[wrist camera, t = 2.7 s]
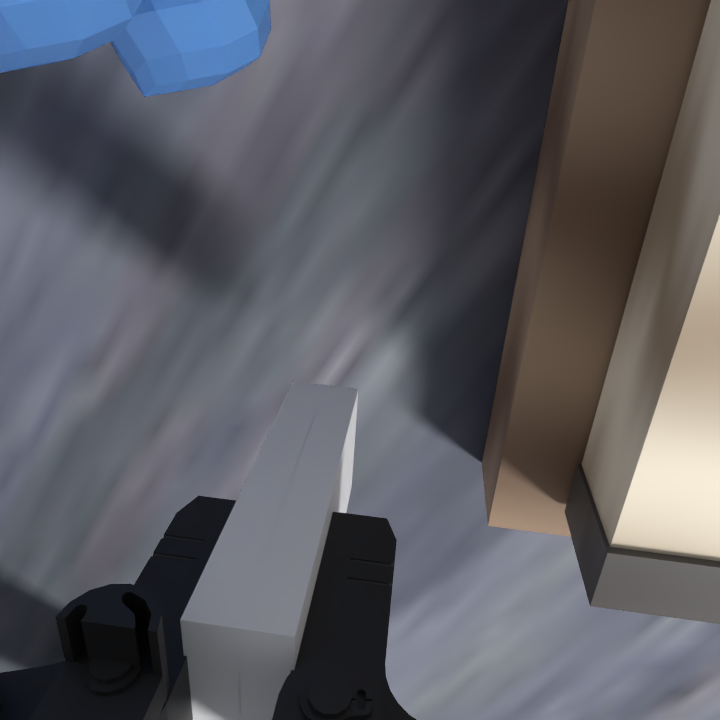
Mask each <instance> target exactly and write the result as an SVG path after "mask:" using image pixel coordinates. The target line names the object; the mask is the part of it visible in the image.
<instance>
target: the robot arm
mask: <svg viewBox="0 0 720 720" xmlns="http://www.w3.org/2000/svg"><path fill="white" fill-rule="evenodd" d="M357 401H358V389H354V388H345V387H336V386H328V385H319V384H310V383H301V382H292V384H291V386H290V388H289V390H288V392H287V394H286V397H285V399H284V401H283V403H282V405H281V407H280V409H279V411H278V414H277V416H276V418H275V420H274V422H273V424H272V426H271V428H270V431H269V433H268V435H267V437H266V439H265V441H264V443H263V445H262V447H261V450H260V452H259V454H258V456H257V458H256V460H255V462H254V464H253V467H252V469H251V471H250V473H249V475H248V477H247V479H246V481H245V484H244V486H243V488H242V490H241V492H240V494H239V496H238V498H237V501H234V500H226V499H219V498H211V497H203V496H198V497H196V498H195V499H194V500H193V501H191V502H190V503H189V504H187V505H186V506H185V507H184V508H182V509H181V510H180V511H179V512H177V513H176V515H175V517H174V518H173V520H172V522H171V524H170V525H169V527H168V529H167V530H166V532H165V534H164V538H163V539H161V540H160V542H159V544H158V545H157V547H156V549H155V551H154V554H153V557H150V559H149V561H148V562H147V564H146V566H145V567H144V569H143V571H142V572H141V574H140V576H139V578H138V579H137V581H136V583H135V584H134V585H132V584H110V585H106V586H103V587H99V588H96V589H92V590H89V591H88V592H86V593H84V594H83V595H81V596H79V597H78V598H76V599H74V600H72V601H71V602H70V603H69V604H68V605H67V606H66V607H65V608H64V609H63V610H62V611H61V612H60V613H59V614H58V615H57V616H56V621H57V625H58V630H59V634H60V639H61V643H62V647H63V652H64V656H65V660H64V661H62V662H59V663H55V664H51V665H47V666H43V667H36V668H30V669H23V670H16V671H10V672H3V673H0V720H416V719H415V718H413V717H412V716H410V715H409V714H408V713H407V712H406V711H405V710H404V709H403V708H402V707H401V706H400V705H399V704H398V703H397V701H396V699H395V698H394V696H393V694H392V693H391V691H390V689H389V685H388V682H387V679H386V673H385V658H386V647H387V636H388V626H389V615H390V604H391V594H392V583H393V572H394V561H395V551H396V538H395V536H394V534H393V531H392V529H391V527H390V524H389V522H388V520H387V519H386V518H378V517H370V516H363V515H355V514H347V513H346V510H347V506H348V501H349V496H350V492H351V487H352V473H353V458H354V444H355V430H356V416H357Z"/></svg>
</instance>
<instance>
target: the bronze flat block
mask: <svg viewBox="0 0 720 720" xmlns="http://www.w3.org/2000/svg"><path fill="white" fill-rule="evenodd" d="M710 2H711V0H569V1H568V6H567V11H566V17H565V22H564V27H563V33H562V38H561V43H560V49H559V54H558V59H557V65H556V70H555V75H554V81H553V86H552V91H551V97H550V102H549V108H548V113H547V118H546V124H545V129H544V134H543V140H542V145H541V150H540V156H539V161H538V166H537V172H536V177H535V182H534V188H533V193H532V198H531V204H530V209H529V214H528V220H527V225H526V230H525V236H524V241H523V246H522V252H521V257H520V262H519V268H518V273H517V278H516V284H515V289H514V295H513V300H512V305H511V311H510V316H509V321H508V327H507V332H506V337H505V343H504V348H503V353H502V359H501V364H500V369H499V375H498V380H497V385H496V391H495V396H494V401H493V407H492V412H491V417H490V423H489V428H488V433H487V439H486V444H485V449H484V455H483V460H482V470H483V480H484V490H485V500H486V510H487V520H488V526H494V527H502V528H510V529H517V530H525V531H533V532H540V533H548V534H556V535H563V536H571V534H570V530H569V526H568V523H567V519H566V515H565V508H566V504H567V501H568V497H569V494H570V490H571V486H572V483H573V479H574V475H575V472H576V468H577V464H582V461H583V457H584V454H585V450H586V447H587V443H588V439H589V436H590V432H591V429H592V425H593V422H594V418H595V414H596V411H597V407H598V404H599V400H600V396H601V393H602V389H603V386H604V382H605V379H606V375H607V371H608V368H609V364H610V361H611V357H612V353H613V350H614V346H615V343H616V339H617V335H618V332H619V328H620V325H621V321H622V318H623V314H624V310H625V307H626V303H627V300H628V296H629V292H630V289H631V285H632V282H633V278H634V274H635V271H636V267H637V264H638V260H639V257H640V253H641V249H642V246H643V242H644V239H645V235H646V231H647V228H648V224H649V221H650V217H651V213H652V210H653V206H654V203H655V199H656V196H657V192H658V188H659V185H660V181H661V178H662V174H663V170H664V167H665V163H666V160H667V156H668V152H669V149H670V145H671V142H672V138H673V135H674V131H675V127H676V124H677V120H678V117H679V113H680V109H681V106H682V102H683V99H684V95H685V92H686V88H687V84H688V81H689V77H690V74H691V70H692V66H693V63H694V59H695V56H696V52H697V48H698V45H699V41H700V38H701V34H702V31H703V27H704V23H705V20H706V16H707V13H708V9H709V5H710Z"/></svg>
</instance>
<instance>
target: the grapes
mask: <svg viewBox="0 0 720 720" xmlns="http://www.w3.org/2000/svg"><path fill="white" fill-rule="evenodd" d="M270 30H271V20H270V0H0V73H3V72H8V71H14V70H19V69H25V68H30V67H36V66H40V65H45V64H50V63H54V62H59V61H63V60H68V59H73V58H75V57H78V56H80V55H82V54H84V53H86V52H89V51H91V50H93V49H95V48H98V47H100V46H102V45H104V44H106V43H109V42H111V44H112V46H113V48H114V49H115V51H116V53H117V55H118V57H119V59H120V61H121V62H122V64H123V65H124V67H125V68H126V70H127V71H128V73H129V74H130V76H131V77H132V79H133V80H134V82H135V83H136V85H137V86H138V88H139V89H140V91H141V92H142V94H143V95H144V97H146V96H153V95H159V94H165V93H171V92H177V91H183V90H188V89H193V88H199V87H204V86H210V85H214V84H216V83H218V82H219V81H221V80H223V79H225V78H227V77H229V76H231V75H233V74H235V73H236V72H238V71H240V70H242V69H244V68H245V67H246V66H248V65H249V64H250V63H252V62H253V61H255V60H256V59H257V58H259V57H260V55H261V53H262V50H263V48H264V45H265V43H266V40H267V38H268V35H269V33H270Z"/></svg>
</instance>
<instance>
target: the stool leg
mask: <svg viewBox="0 0 720 720" xmlns="http://www.w3.org/2000/svg"><path fill="white" fill-rule="evenodd" d="M565 515H566V519H567V523H568V526H569V530H570V534H571V537H572V541H573V545H574V548H575V552H576V556H577V559H578V563H579V567H580V570H581V574H582V578H583V581H584V585H585V589H586V592H587V596H588V600H589V604H590V606H594V607H601V608H609V609H616V610H623V611H630V612H637V613H644V614H652V615H659V616H666V617H673V618H680V619H688V620H695V621H702V622H709V623H716V624H720V0H711V2H710V5H709V9H708V13H707V16H706V20H705V23H704V27H703V31H702V34H701V38H700V41H699V45H698V48H697V52H696V56H695V59H694V63H693V66H692V70H691V74H690V77H689V81H688V84H687V88H686V92H685V95H684V99H683V102H682V106H681V109H680V113H679V117H678V120H677V124H676V127H675V131H674V135H673V138H672V142H671V145H670V149H669V152H668V156H667V160H666V163H665V167H664V170H663V174H662V178H661V181H660V185H659V188H658V192H657V196H656V199H655V203H654V206H653V210H652V213H651V217H650V221H649V224H648V228H647V231H646V235H645V239H644V242H643V246H642V249H641V253H640V257H639V260H638V264H637V267H636V271H635V274H634V278H633V282H632V285H631V289H630V292H629V296H628V300H627V303H626V307H625V310H624V314H623V318H622V321H621V325H620V328H619V332H618V335H617V339H616V343H615V346H614V350H613V353H612V357H611V361H610V364H609V368H608V371H607V375H606V379H605V382H604V386H603V389H602V393H601V396H600V400H599V404H598V407H597V411H596V414H595V418H594V422H593V425H592V429H591V432H590V436H589V439H588V443H587V447H586V450H585V454H584V457H583V461H582V464H577V468H576V472H575V475H574V479H573V483H572V486H571V490H570V494H569V497H568V501H567V504H566V508H565Z"/></svg>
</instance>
